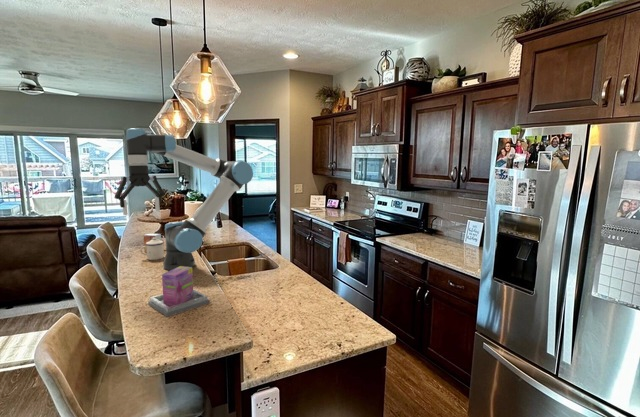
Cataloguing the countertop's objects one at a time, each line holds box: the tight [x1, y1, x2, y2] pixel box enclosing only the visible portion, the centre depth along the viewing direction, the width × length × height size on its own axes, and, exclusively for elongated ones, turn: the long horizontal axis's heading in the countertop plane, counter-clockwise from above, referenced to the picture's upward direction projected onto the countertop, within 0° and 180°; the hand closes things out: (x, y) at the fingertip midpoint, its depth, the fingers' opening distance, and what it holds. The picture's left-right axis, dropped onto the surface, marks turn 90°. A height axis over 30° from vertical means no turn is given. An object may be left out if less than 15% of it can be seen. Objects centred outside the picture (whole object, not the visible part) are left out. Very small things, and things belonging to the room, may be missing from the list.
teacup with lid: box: [139, 238, 165, 261], centre depth 192 cm, size 12×9×12 cm
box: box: [161, 266, 194, 306], centre depth 127 cm, size 10×6×12 cm, turn 166°
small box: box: [143, 233, 162, 253], centre depth 209 cm, size 8×6×10 cm
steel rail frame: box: [149, 289, 209, 313], centre depth 128 cm, size 15×15×2 cm
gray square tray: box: [147, 295, 211, 318], centre depth 128 cm, size 16×16×1 cm
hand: (142, 213), depth 152 cm, fingers open, 13 cm apart
